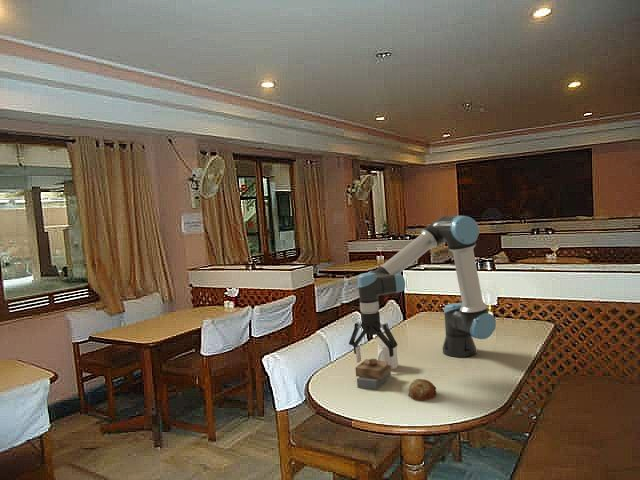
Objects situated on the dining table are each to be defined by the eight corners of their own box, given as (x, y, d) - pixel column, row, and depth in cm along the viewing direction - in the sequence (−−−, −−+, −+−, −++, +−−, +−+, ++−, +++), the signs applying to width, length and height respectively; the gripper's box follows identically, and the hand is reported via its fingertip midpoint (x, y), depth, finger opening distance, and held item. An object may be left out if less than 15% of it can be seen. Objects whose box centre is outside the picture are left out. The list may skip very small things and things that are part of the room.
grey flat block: (390, 375, 197) (390, 367, 197) (376, 390, 183) (375, 381, 183) (372, 373, 201) (372, 365, 201) (357, 387, 187) (356, 378, 187)
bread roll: (410, 400, 180) (400, 383, 179) (433, 386, 181) (423, 369, 180) (418, 411, 170) (407, 393, 169) (442, 397, 171) (432, 378, 170)
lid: (391, 369, 194) (390, 356, 194) (381, 379, 185) (380, 365, 184) (366, 367, 199) (365, 354, 199) (355, 376, 190) (355, 362, 190)
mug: (386, 374, 199) (385, 350, 199) (370, 371, 205) (369, 347, 204) (401, 365, 208) (400, 342, 208) (385, 362, 214) (384, 340, 213)
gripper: (402, 310, 187) (406, 362, 189) (346, 308, 200) (350, 357, 201) (396, 314, 181) (400, 368, 182) (338, 312, 193) (342, 363, 195)
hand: (374, 363), depth 192 cm, fingers open, 13 cm apart
